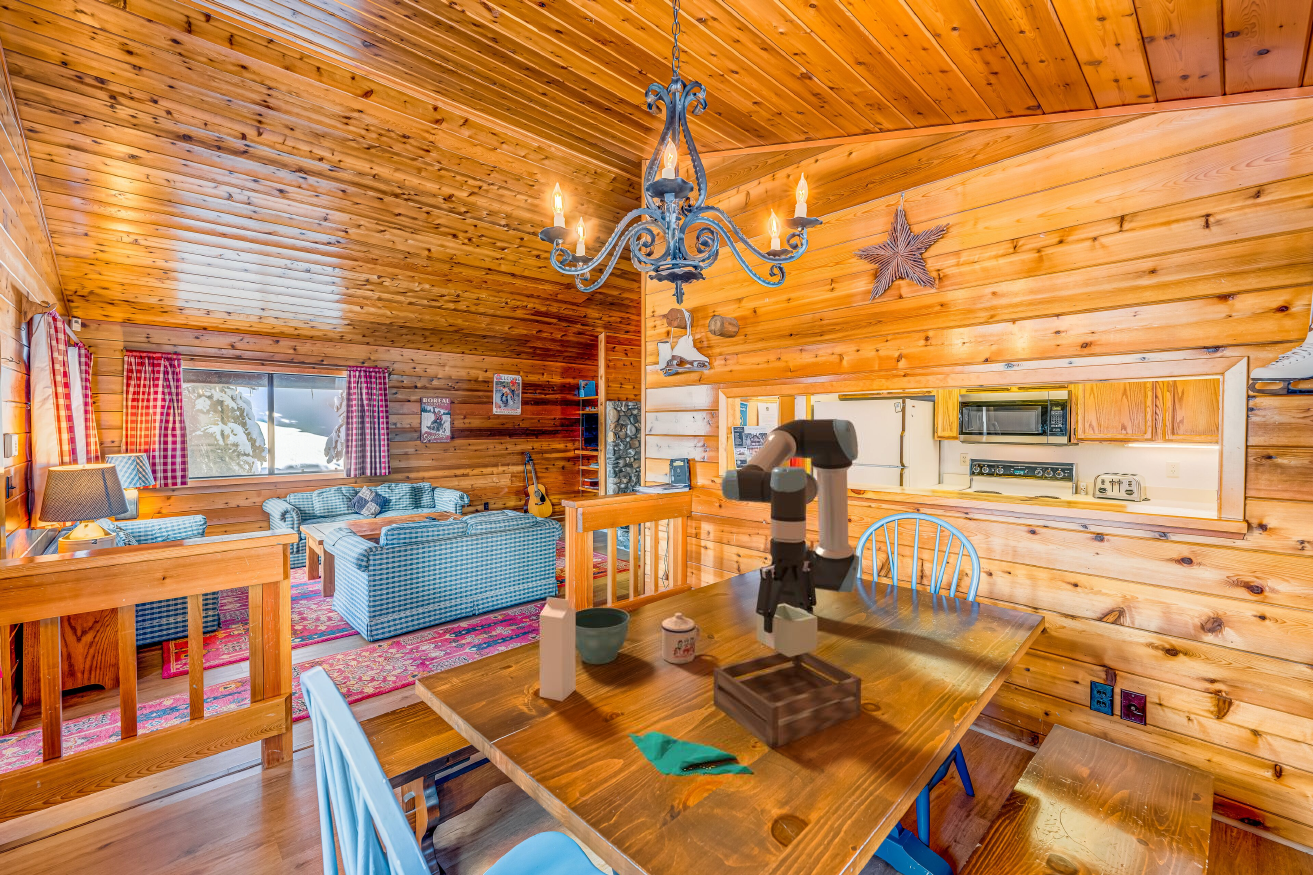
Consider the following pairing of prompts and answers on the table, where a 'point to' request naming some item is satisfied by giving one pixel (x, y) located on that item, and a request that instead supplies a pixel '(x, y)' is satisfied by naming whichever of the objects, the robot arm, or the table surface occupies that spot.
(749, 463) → the robot arm
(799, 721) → the crate
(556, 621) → the milk
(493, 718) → the table surface
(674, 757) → the cloth
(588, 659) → the flower pot
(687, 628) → the teacup with lid
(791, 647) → the small crate
